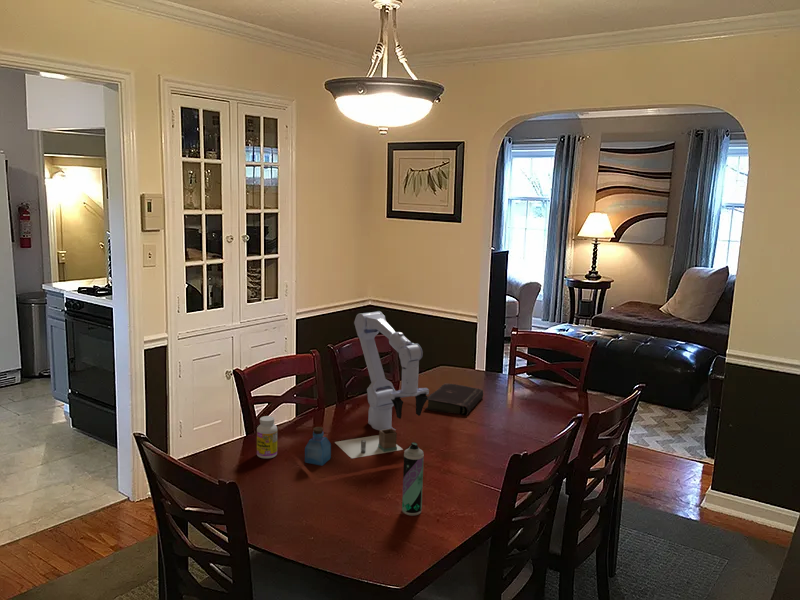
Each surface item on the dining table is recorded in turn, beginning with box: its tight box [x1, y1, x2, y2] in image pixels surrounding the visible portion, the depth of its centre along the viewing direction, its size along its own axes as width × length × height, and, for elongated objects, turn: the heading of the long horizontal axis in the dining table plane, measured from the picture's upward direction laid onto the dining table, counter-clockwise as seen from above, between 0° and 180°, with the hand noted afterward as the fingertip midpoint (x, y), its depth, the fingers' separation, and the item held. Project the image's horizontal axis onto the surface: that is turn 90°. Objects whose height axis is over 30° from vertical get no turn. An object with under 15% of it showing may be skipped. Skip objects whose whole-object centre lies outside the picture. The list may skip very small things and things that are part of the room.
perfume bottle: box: [304, 426, 332, 466], centre depth 218 cm, size 6×6×12 cm
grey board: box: [334, 434, 404, 459], centre depth 232 cm, size 15×19×1 cm
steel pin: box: [361, 440, 366, 453], centre depth 226 cm, size 2×2×4 cm
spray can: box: [401, 442, 425, 516], centre depth 188 cm, size 6×6×20 cm
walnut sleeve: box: [378, 428, 398, 453], centre depth 229 cm, size 5×5×6 cm
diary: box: [424, 383, 484, 417], centre depth 282 cm, size 19×25×5 cm
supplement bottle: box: [256, 415, 278, 459], centre depth 223 cm, size 7×7×13 cm
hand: (408, 416), depth 237 cm, fingers open, 7 cm apart
